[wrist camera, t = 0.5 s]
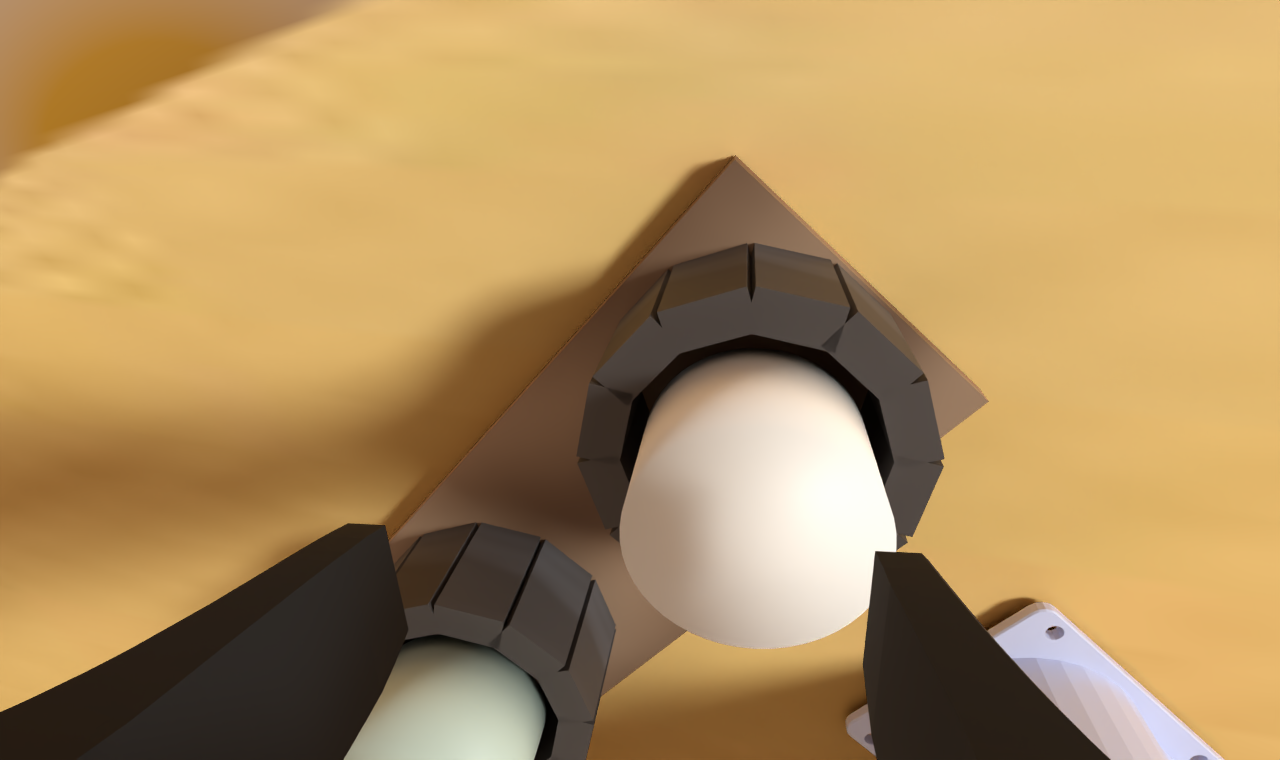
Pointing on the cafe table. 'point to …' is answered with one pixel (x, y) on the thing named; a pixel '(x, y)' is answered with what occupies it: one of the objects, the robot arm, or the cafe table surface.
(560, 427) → the collar board
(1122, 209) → the cafe table surface
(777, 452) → the peg cream
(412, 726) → the peg sage
